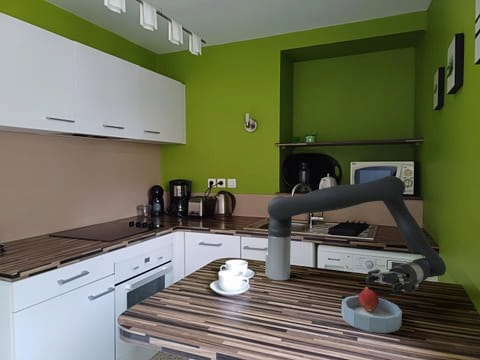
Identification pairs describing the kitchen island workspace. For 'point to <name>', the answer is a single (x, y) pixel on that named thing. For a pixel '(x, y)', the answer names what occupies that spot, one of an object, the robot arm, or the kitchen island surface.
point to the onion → (368, 299)
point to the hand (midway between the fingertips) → (379, 284)
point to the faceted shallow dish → (372, 315)
